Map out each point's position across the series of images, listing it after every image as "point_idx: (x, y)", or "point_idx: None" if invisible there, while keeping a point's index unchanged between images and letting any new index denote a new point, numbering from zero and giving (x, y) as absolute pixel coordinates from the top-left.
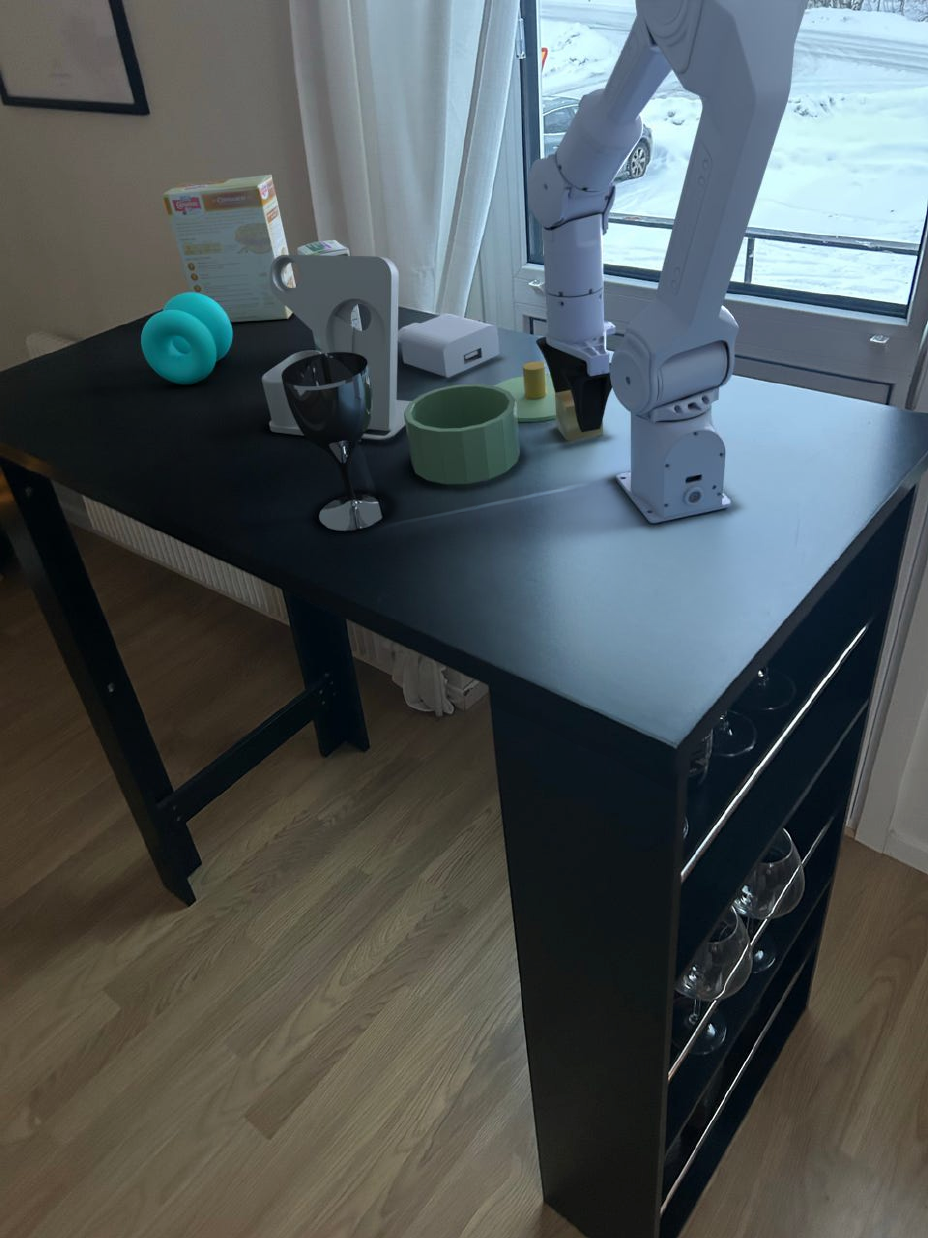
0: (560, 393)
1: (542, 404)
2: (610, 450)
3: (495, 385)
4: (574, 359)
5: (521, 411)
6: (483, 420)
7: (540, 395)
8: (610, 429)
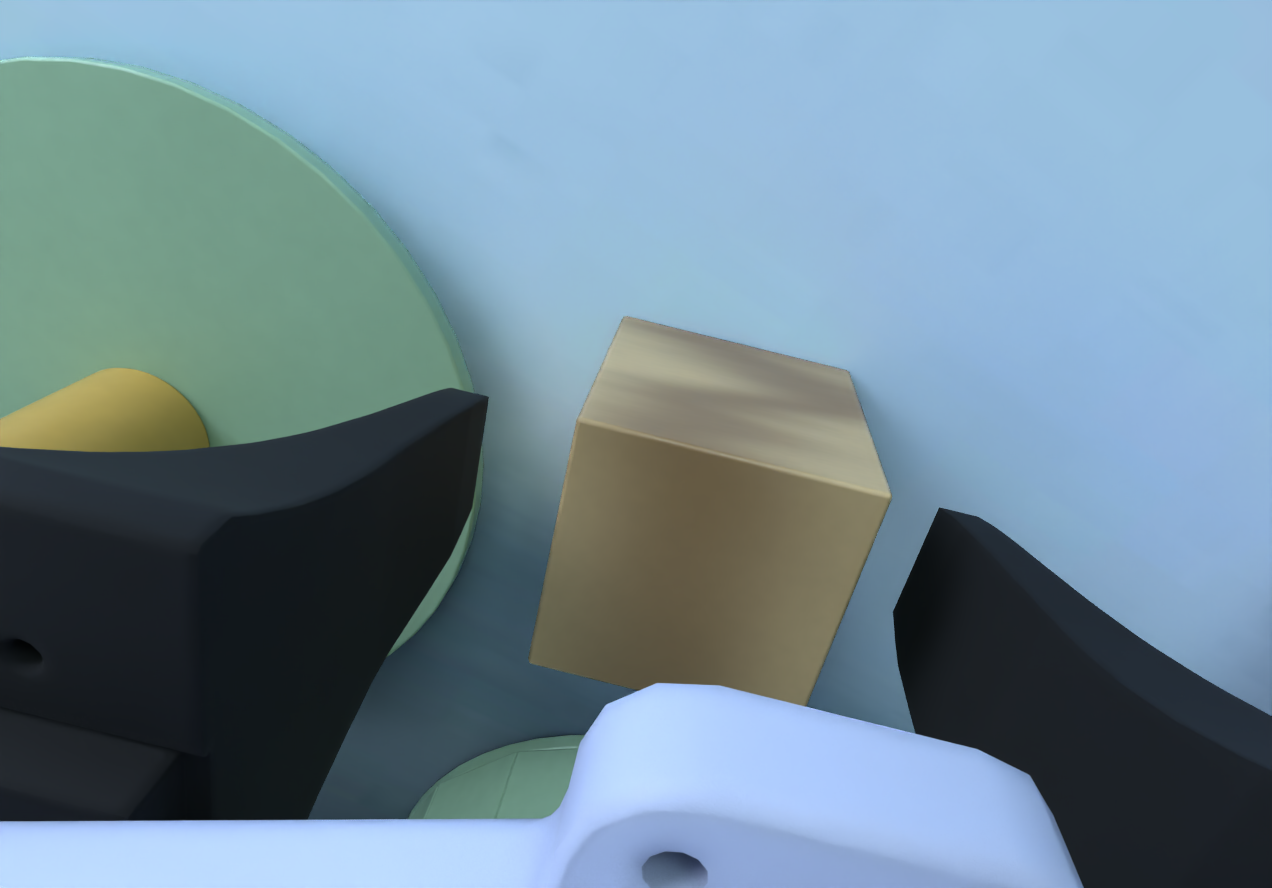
0: (563, 644)
1: None
2: (1003, 418)
3: None
4: (342, 571)
5: None
6: None
7: (197, 447)
8: (767, 257)
